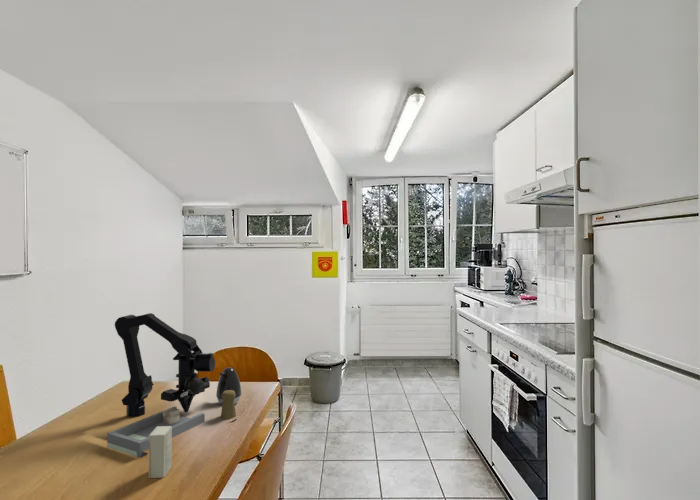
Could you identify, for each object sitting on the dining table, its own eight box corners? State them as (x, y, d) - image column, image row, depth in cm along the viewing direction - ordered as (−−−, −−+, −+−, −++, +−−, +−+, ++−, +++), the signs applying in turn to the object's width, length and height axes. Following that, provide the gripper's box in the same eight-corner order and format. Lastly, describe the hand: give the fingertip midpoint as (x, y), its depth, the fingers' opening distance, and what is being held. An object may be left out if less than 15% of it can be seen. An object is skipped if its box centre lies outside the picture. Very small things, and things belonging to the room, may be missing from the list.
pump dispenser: (210, 406, 167) (210, 369, 167) (227, 398, 177) (227, 363, 177) (230, 409, 163) (230, 372, 163) (246, 401, 173) (246, 365, 173)
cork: (231, 423, 149) (231, 394, 150) (217, 422, 151) (217, 393, 151) (239, 417, 155) (239, 388, 155) (225, 416, 157) (225, 387, 157)
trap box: (107, 447, 131) (107, 433, 131) (173, 418, 155) (173, 406, 155) (139, 457, 124) (140, 443, 124) (204, 425, 148) (204, 413, 148)
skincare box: (156, 467, 119) (156, 425, 119) (172, 466, 119) (172, 425, 119) (147, 479, 112) (148, 435, 113) (164, 478, 113) (164, 434, 113)
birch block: (162, 422, 147) (162, 411, 147) (171, 418, 151) (171, 407, 151) (170, 424, 146) (170, 413, 146) (179, 420, 149) (179, 409, 149)
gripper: (181, 380, 143) (181, 424, 142) (220, 367, 159) (220, 407, 159) (159, 376, 148) (159, 419, 147) (199, 364, 164) (199, 402, 164)
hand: (186, 411), depth 154 cm, fingers closed
